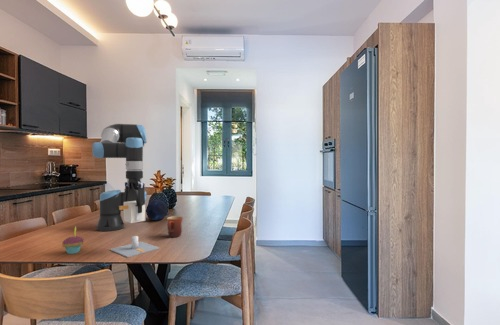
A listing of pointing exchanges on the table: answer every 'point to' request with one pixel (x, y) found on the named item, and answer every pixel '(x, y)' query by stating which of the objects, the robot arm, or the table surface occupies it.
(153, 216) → the decorative orb
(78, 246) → the cupcake
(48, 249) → the table surface
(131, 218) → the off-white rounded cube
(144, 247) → the post base
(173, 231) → the mug
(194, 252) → the table surface
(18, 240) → the table surface
